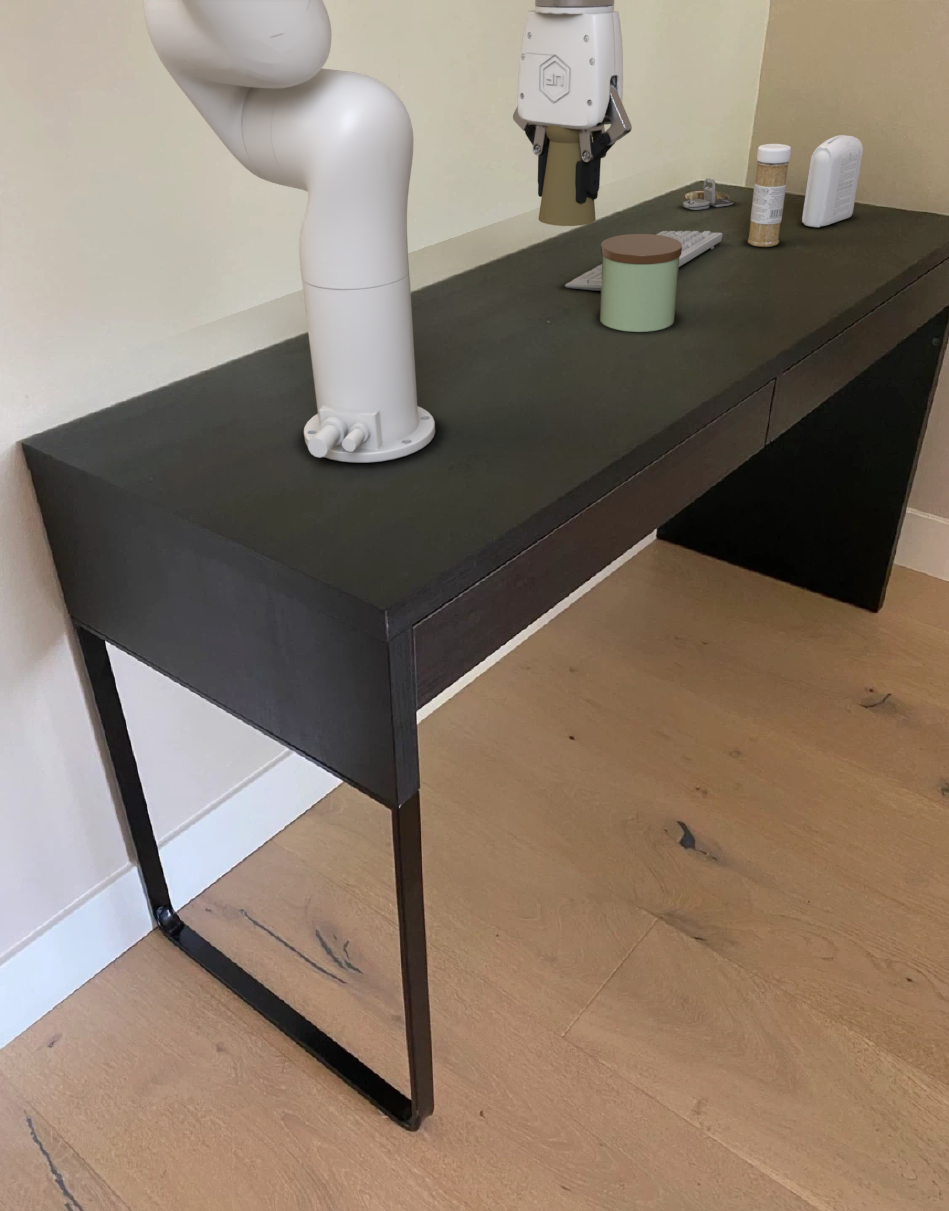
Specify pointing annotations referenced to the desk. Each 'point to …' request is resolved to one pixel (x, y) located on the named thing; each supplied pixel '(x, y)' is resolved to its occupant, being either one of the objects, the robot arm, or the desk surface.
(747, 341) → the desk surface
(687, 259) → the keyboard
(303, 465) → the desk surface
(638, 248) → the canister
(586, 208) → the brown tapered tall piece
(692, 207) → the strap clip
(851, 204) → the white plastic container
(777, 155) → the sprinkles bottle
